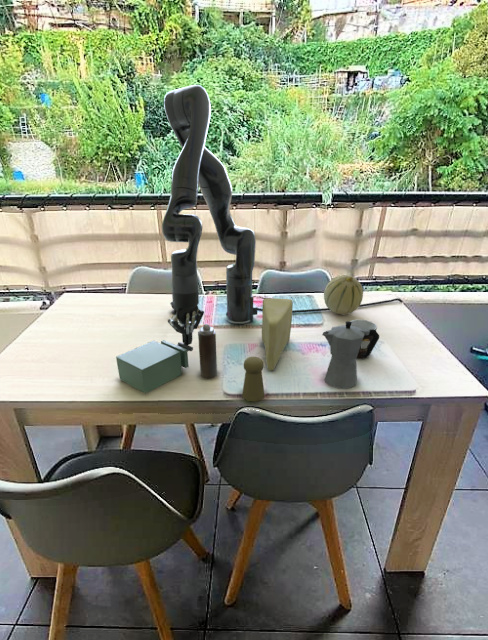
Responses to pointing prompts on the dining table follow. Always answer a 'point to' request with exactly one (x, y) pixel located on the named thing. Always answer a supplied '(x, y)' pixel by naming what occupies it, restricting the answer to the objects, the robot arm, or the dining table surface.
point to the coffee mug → (366, 340)
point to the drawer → (182, 349)
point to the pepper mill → (207, 352)
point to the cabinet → (149, 366)
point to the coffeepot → (346, 353)
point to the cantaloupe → (343, 294)
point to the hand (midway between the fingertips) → (187, 343)
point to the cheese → (276, 328)
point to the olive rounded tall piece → (253, 379)
